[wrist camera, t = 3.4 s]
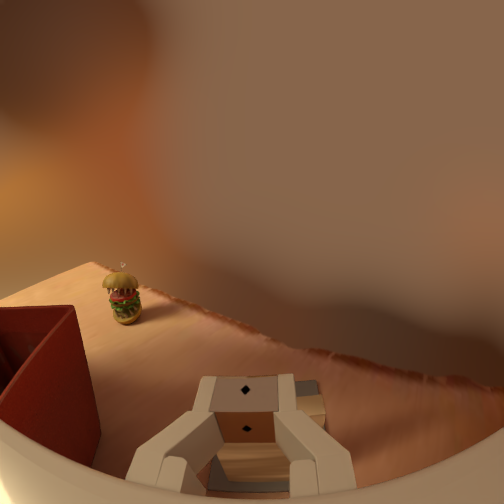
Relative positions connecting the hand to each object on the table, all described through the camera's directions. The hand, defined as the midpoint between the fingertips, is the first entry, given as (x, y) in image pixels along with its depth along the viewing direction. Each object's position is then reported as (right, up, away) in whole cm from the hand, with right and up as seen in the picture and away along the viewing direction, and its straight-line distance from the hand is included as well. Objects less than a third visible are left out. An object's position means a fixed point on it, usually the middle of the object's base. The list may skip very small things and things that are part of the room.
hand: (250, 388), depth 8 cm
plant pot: (-24, -21, +10) cm, 33 cm away
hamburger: (-25, -10, +43) cm, 51 cm away
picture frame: (+2, -17, +11) cm, 20 cm away
